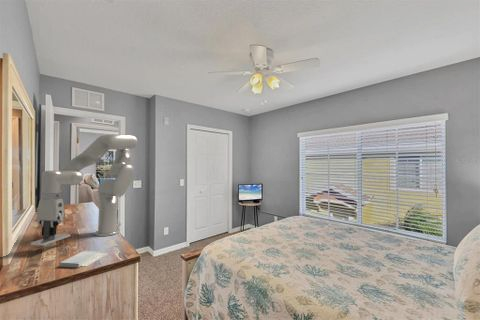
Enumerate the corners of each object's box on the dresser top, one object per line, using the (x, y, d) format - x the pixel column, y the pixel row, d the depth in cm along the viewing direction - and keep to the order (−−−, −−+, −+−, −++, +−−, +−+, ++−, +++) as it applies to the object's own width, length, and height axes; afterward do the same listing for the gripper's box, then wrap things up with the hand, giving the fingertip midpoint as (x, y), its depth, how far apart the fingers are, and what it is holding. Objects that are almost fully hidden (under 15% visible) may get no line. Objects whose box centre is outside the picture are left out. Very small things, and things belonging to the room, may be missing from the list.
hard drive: (78, 263, 86) (100, 251, 98) (58, 262, 86) (83, 250, 98) (78, 267, 86) (100, 254, 98) (58, 266, 86) (82, 254, 98)
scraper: (30, 244, 97) (32, 224, 97) (59, 235, 111) (60, 217, 111) (43, 245, 96) (44, 224, 97) (70, 236, 110) (71, 218, 111)
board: (85, 252, 101) (86, 251, 101) (108, 253, 100) (108, 253, 100) (60, 265, 88) (60, 264, 88) (86, 266, 87) (86, 266, 87)
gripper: (73, 196, 107) (71, 233, 107) (43, 194, 109) (41, 232, 108) (60, 198, 100) (57, 238, 99) (27, 196, 101) (24, 236, 101)
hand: (49, 234), depth 104 cm, fingers closed on scraper, 3 cm apart
